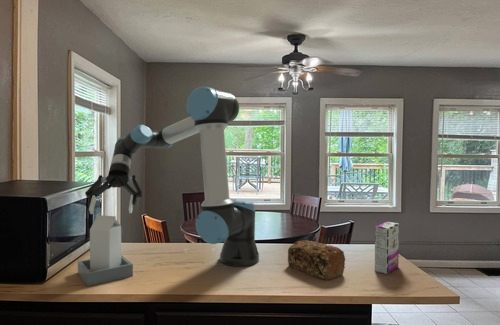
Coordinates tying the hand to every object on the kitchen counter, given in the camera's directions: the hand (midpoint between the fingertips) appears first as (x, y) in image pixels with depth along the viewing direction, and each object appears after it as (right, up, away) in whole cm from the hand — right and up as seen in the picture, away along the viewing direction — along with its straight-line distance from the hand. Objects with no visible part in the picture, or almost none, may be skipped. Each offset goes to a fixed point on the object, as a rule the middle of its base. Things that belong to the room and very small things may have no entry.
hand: (110, 211), depth 119 cm
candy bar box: (+100, -21, 0) cm, 103 cm away
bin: (+1, -20, -7) cm, 22 cm away
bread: (+74, -21, -1) cm, 77 cm away
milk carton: (+2, -19, -7) cm, 21 cm away
